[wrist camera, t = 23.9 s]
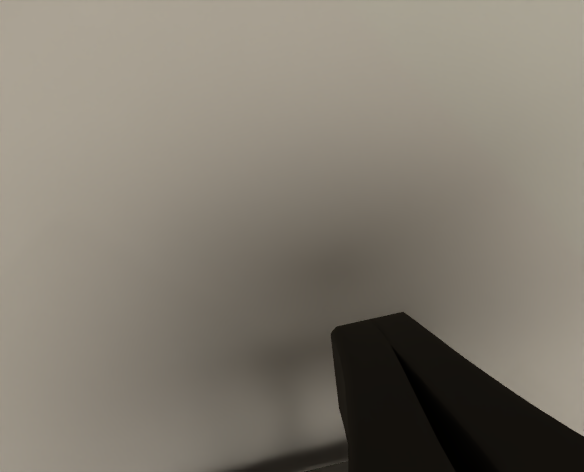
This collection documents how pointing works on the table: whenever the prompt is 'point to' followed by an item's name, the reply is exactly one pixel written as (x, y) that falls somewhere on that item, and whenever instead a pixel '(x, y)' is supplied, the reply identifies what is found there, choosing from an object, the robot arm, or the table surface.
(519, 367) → the table surface
